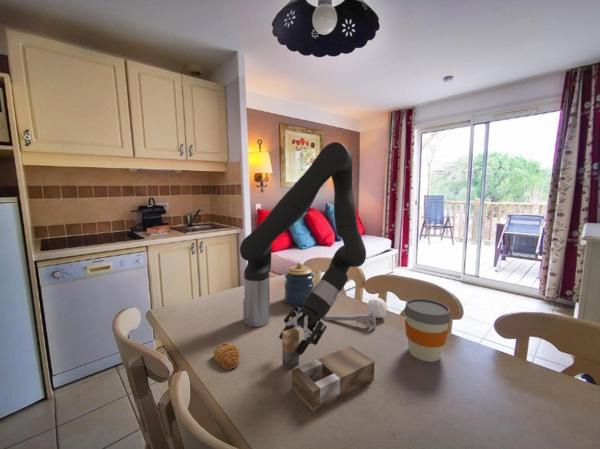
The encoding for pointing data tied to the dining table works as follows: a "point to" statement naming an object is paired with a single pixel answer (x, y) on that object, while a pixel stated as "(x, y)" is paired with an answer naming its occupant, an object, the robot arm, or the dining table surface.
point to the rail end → (290, 347)
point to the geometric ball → (377, 307)
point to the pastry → (227, 356)
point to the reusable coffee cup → (426, 328)
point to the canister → (298, 284)
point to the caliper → (356, 319)
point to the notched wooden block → (332, 377)
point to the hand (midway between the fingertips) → (289, 346)
